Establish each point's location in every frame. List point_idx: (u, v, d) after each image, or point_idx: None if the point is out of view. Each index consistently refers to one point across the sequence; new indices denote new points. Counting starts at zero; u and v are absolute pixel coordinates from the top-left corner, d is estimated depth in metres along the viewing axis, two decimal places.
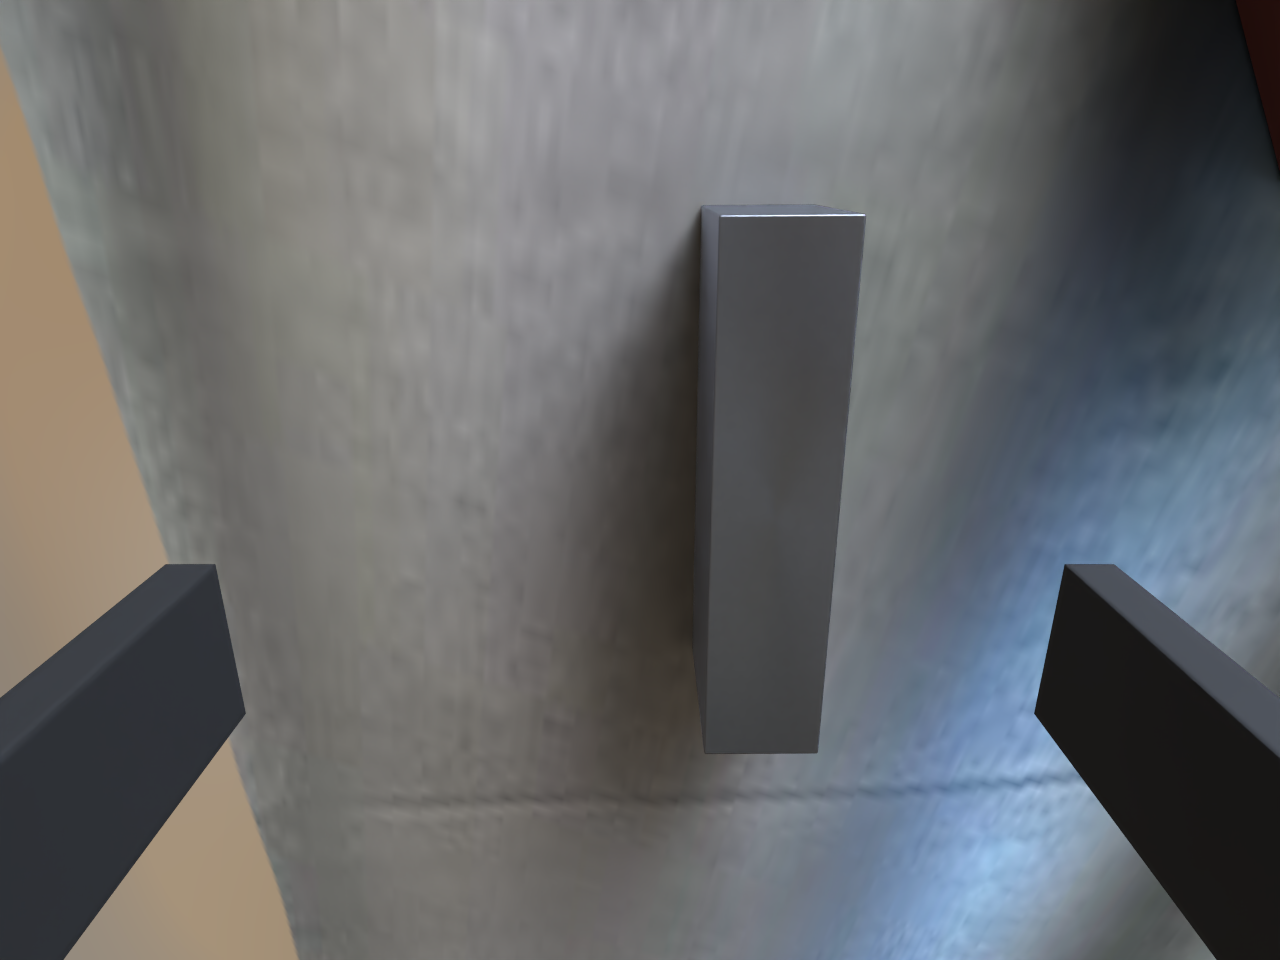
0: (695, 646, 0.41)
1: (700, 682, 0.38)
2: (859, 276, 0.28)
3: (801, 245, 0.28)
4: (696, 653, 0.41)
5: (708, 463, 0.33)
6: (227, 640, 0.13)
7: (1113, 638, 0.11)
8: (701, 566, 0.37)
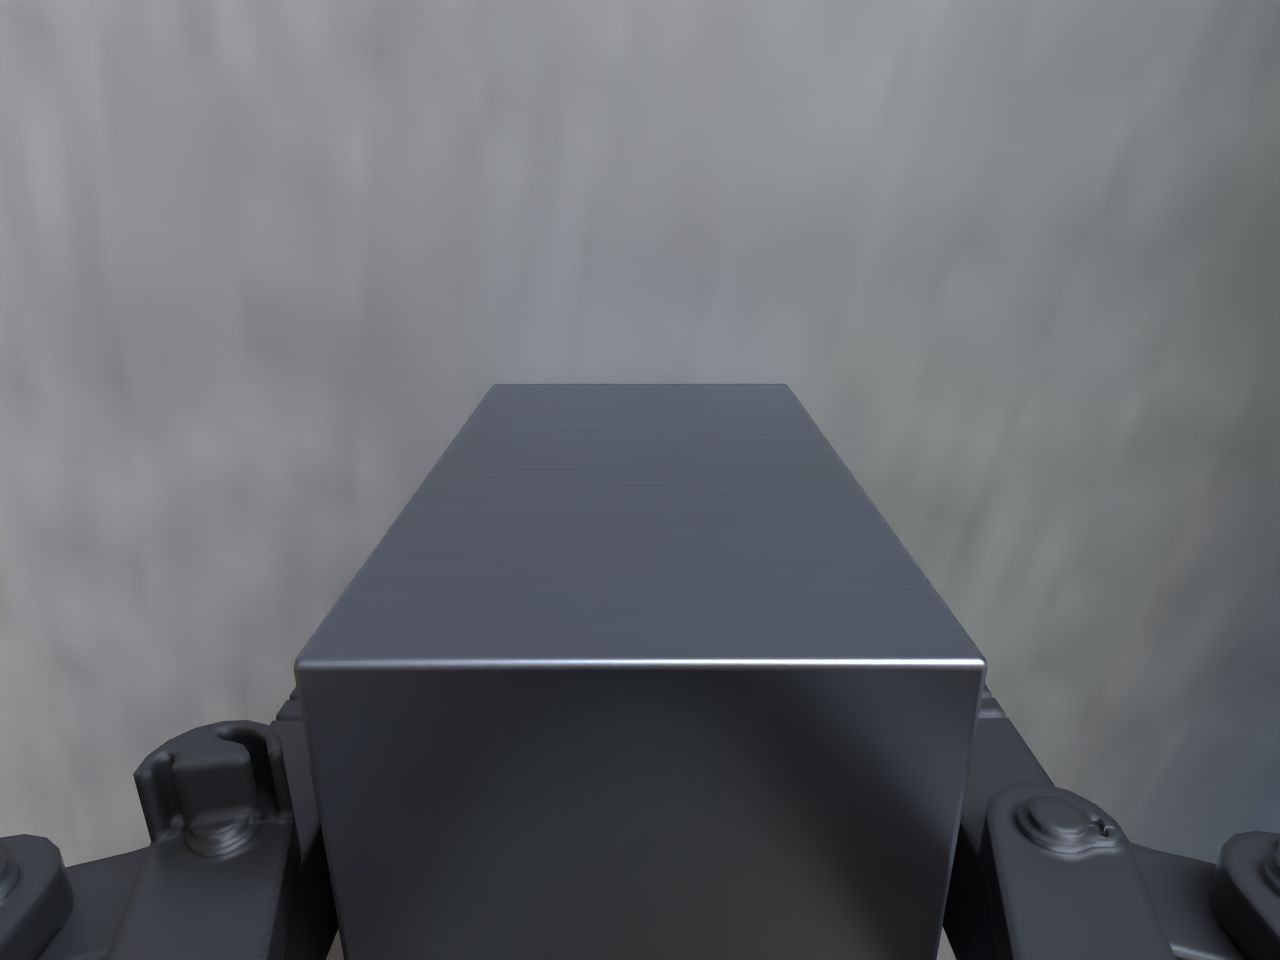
0: None
1: None
2: (945, 880, 0.07)
3: (689, 779, 0.06)
4: None
5: None
6: None
7: None
8: None
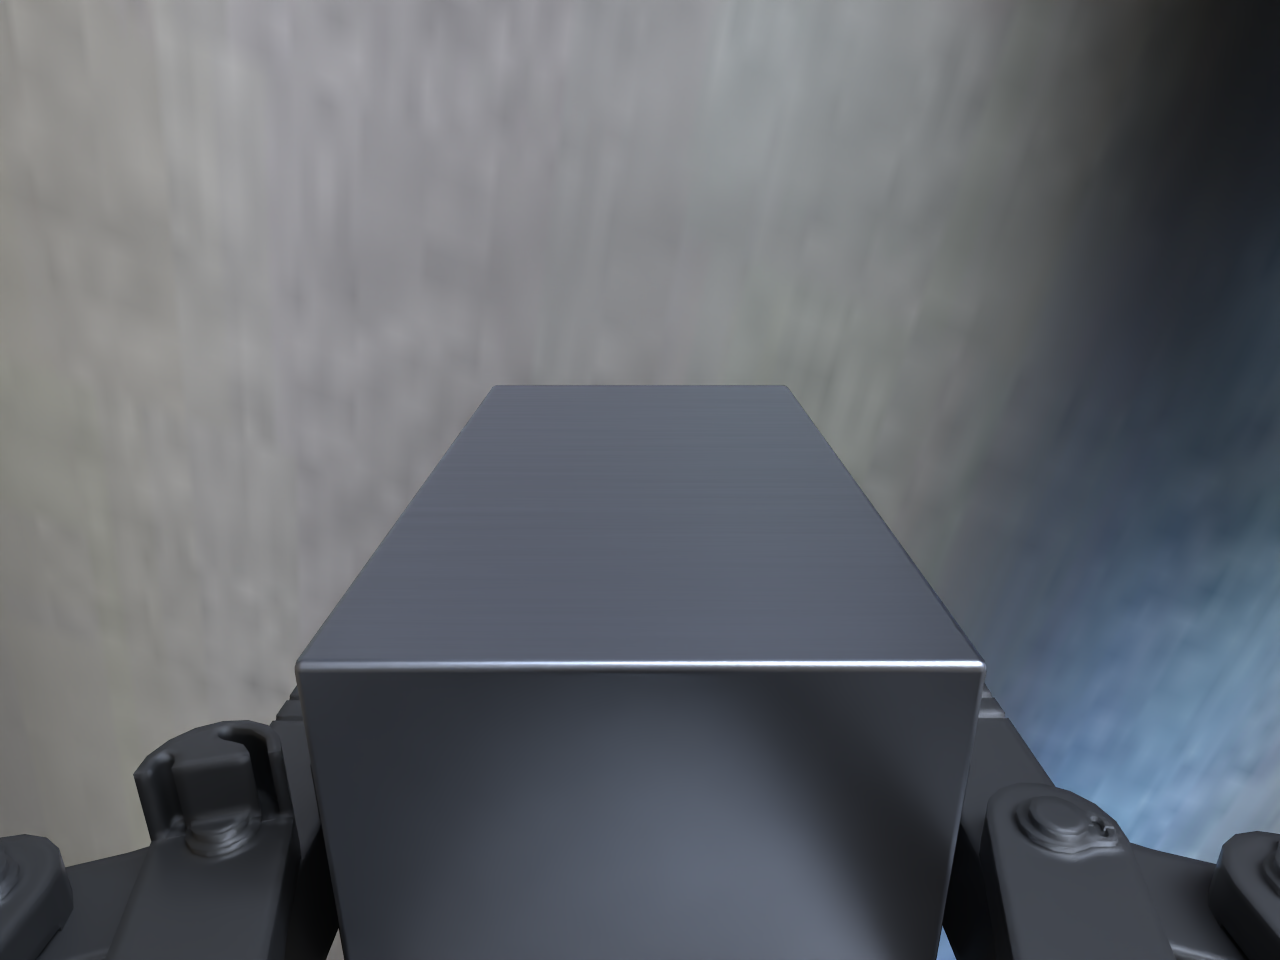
0: None
1: None
2: (944, 881, 0.07)
3: (689, 779, 0.06)
4: None
5: None
6: None
7: None
8: None
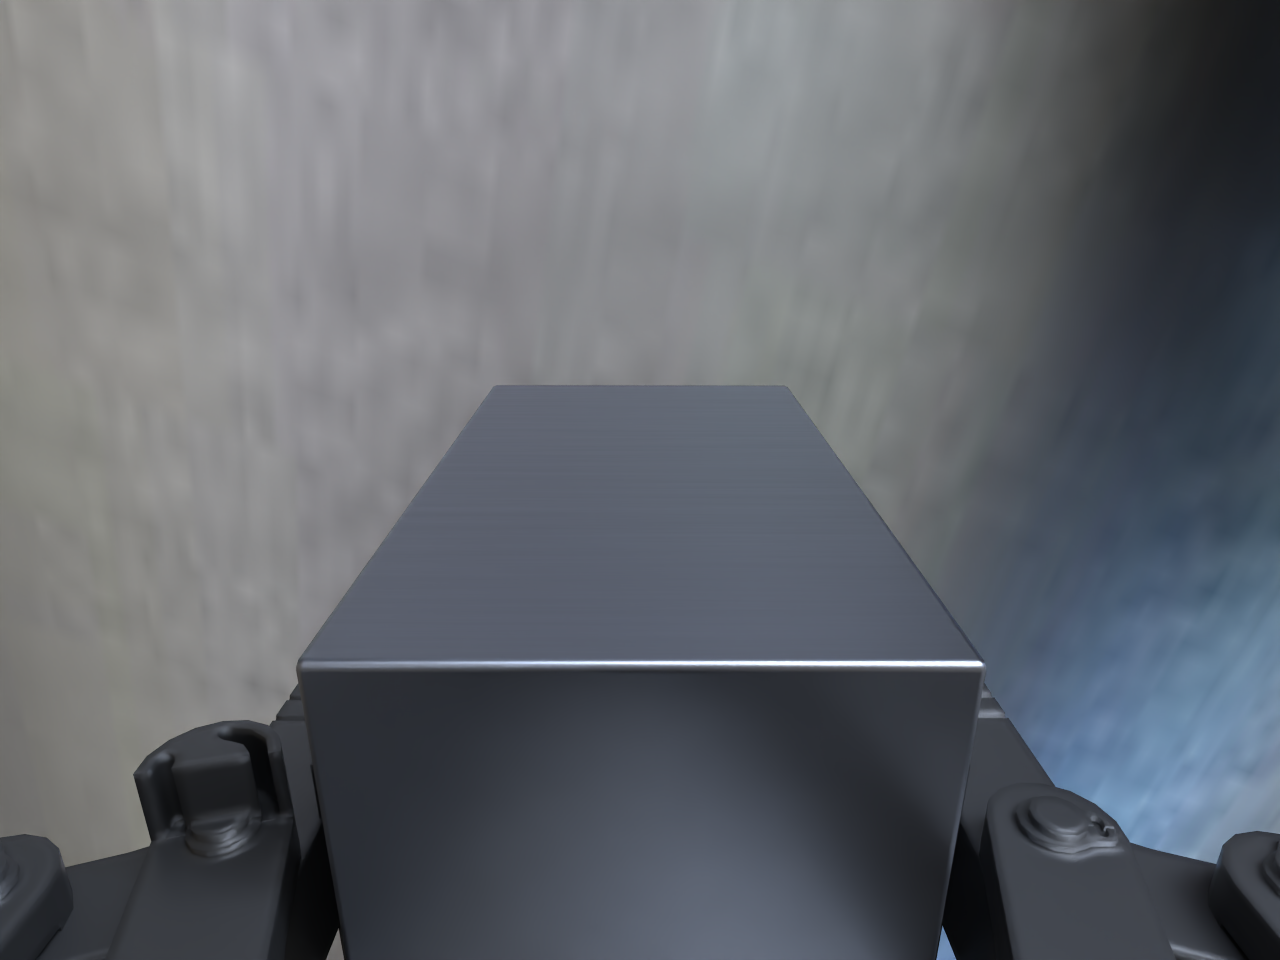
0: None
1: None
2: (944, 880, 0.07)
3: (690, 780, 0.06)
4: None
5: None
6: None
7: None
8: None
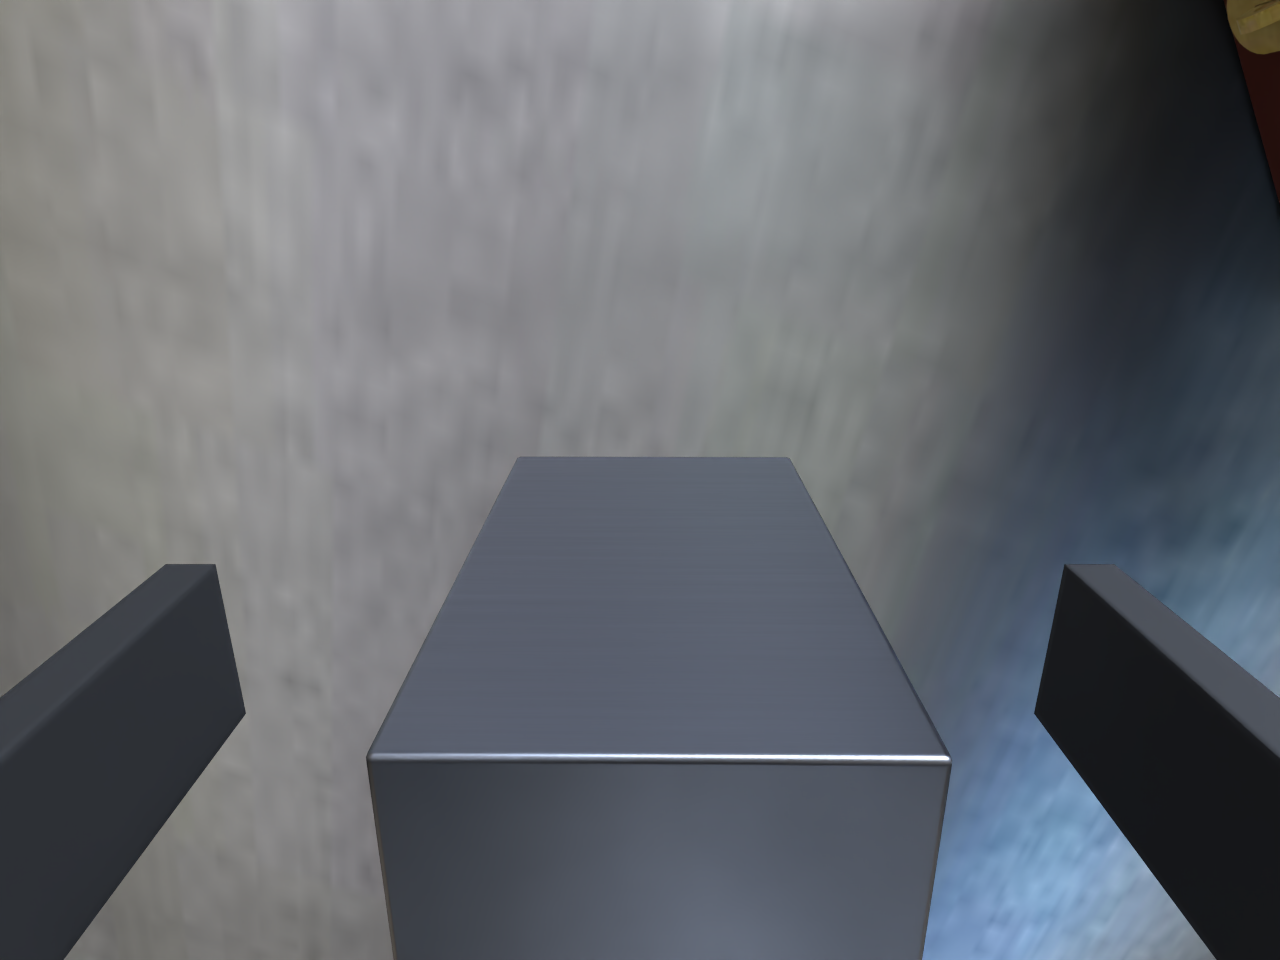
0: None
1: None
2: (921, 941, 0.08)
3: (700, 855, 0.07)
4: None
5: None
6: (227, 640, 0.13)
7: (1113, 638, 0.11)
8: None
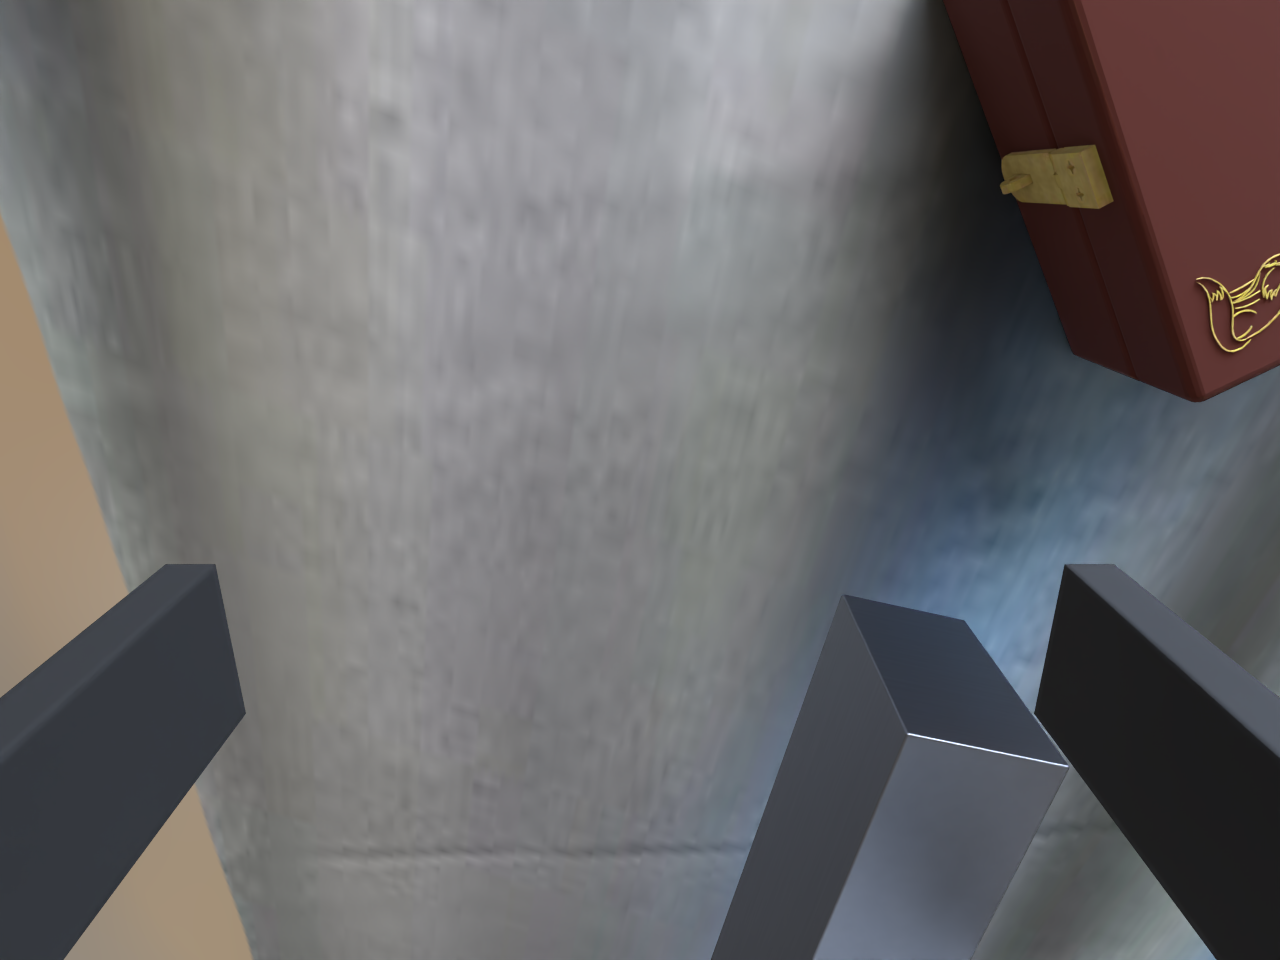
0: None
1: None
2: (1040, 820, 0.24)
3: (988, 781, 0.24)
4: None
5: (800, 926, 0.28)
6: (227, 640, 0.13)
7: (1114, 638, 0.11)
8: None
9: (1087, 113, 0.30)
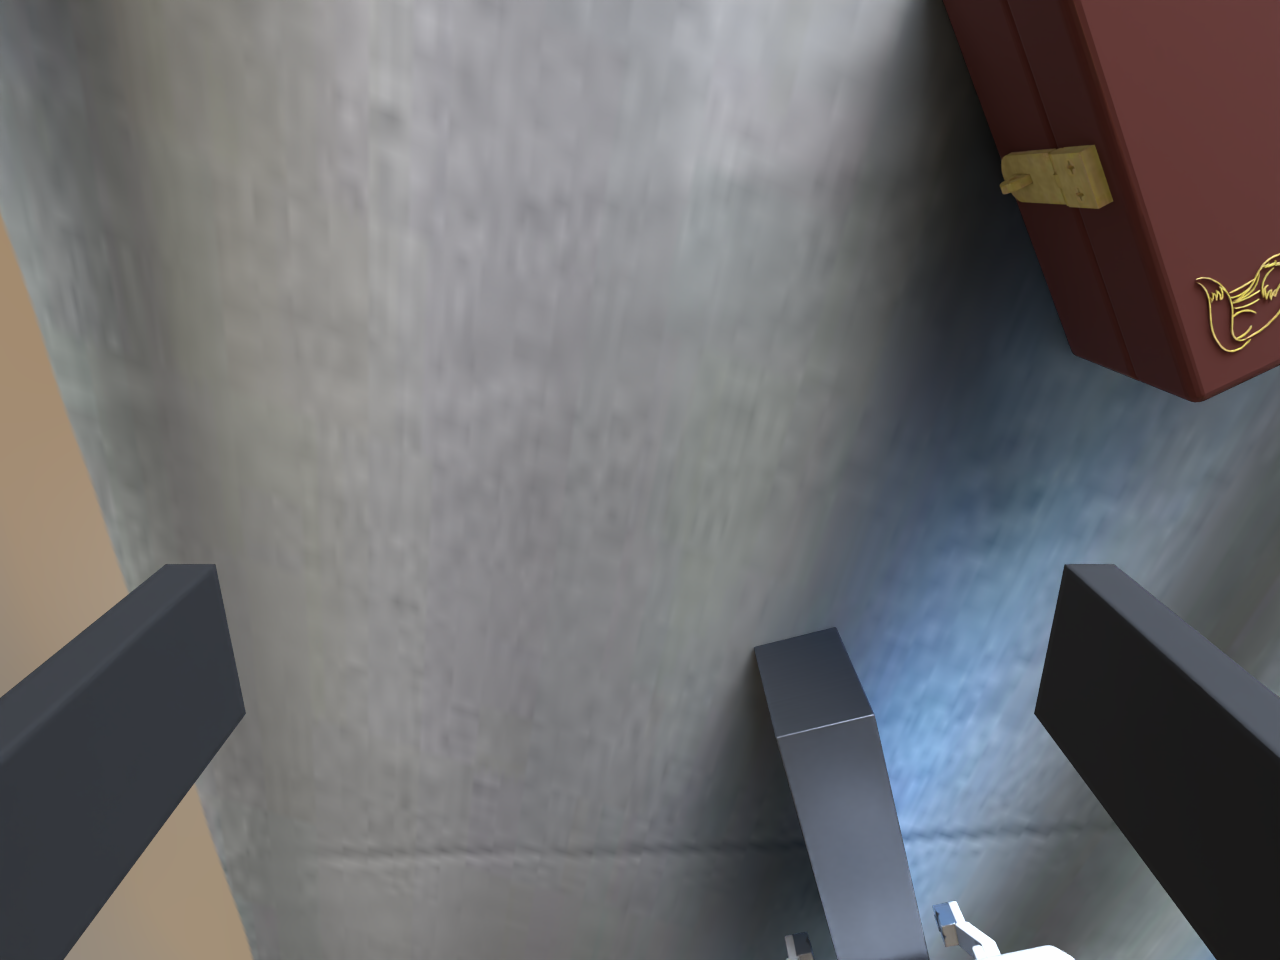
0: None
1: None
2: (880, 747, 0.41)
3: (836, 741, 0.41)
4: None
5: None
6: (227, 640, 0.13)
7: (1114, 638, 0.11)
8: None
9: (1087, 113, 0.30)
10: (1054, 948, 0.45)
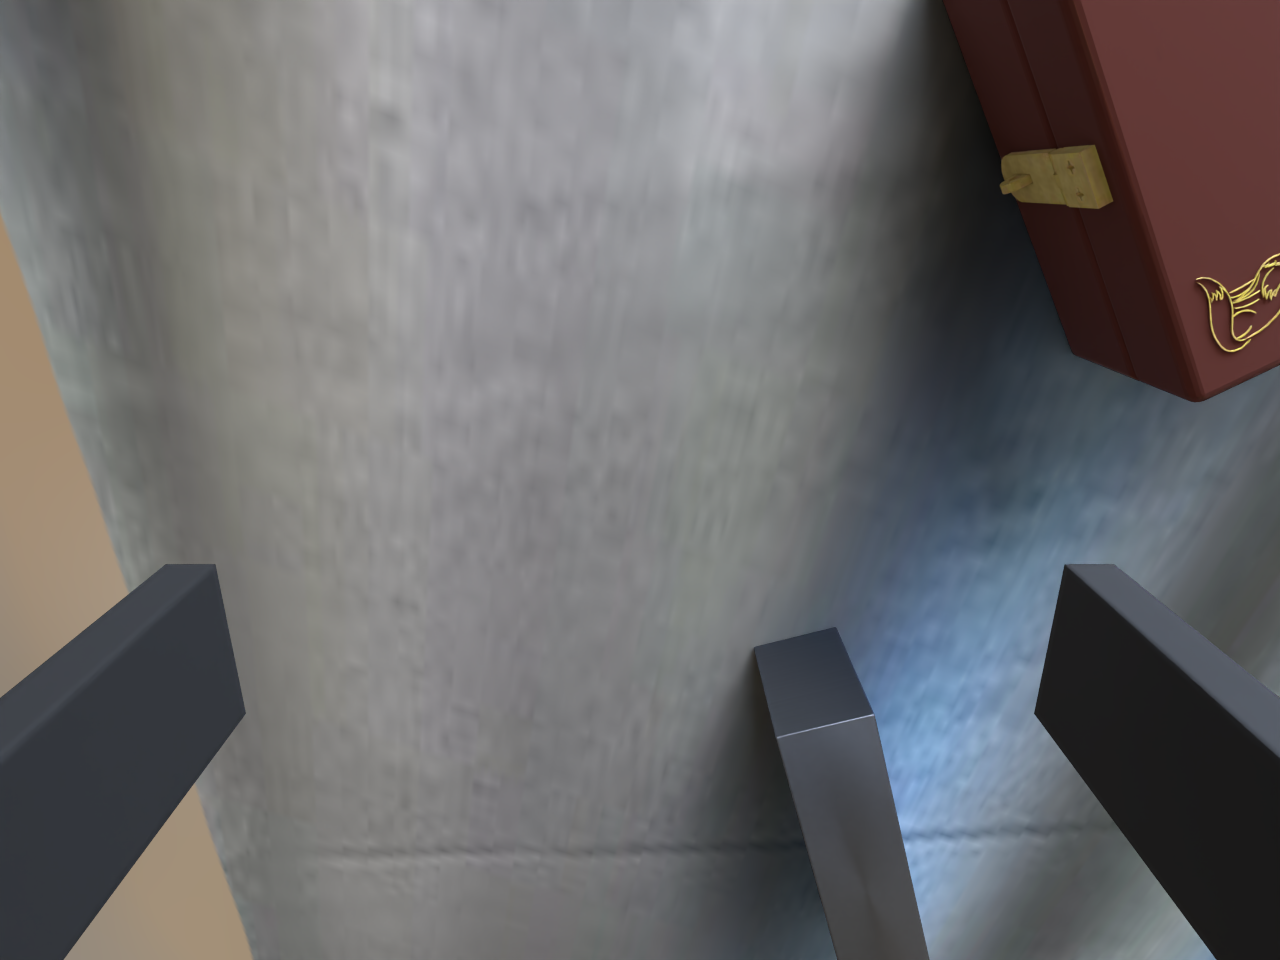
0: None
1: None
2: (880, 747, 0.41)
3: (836, 741, 0.41)
4: None
5: None
6: (227, 640, 0.13)
7: (1114, 638, 0.11)
8: None
9: (1087, 113, 0.30)
10: None
